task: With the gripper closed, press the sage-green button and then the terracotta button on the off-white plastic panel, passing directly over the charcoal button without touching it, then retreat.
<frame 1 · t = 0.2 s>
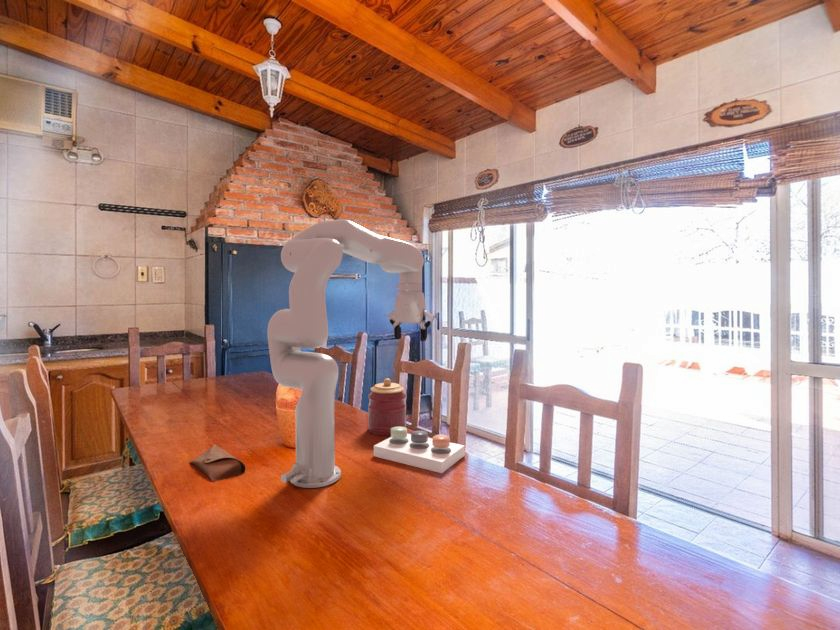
hand: (410, 339, 146), 31 cm above the table, fingers open, 9 cm apart
sunglasses case: (216, 469, 115), on the table
charcoal button: (419, 436, 124), point 6 cm above the table, slide at 0.0 cm
terracotta button: (441, 441, 120), point 6 cm above the table, slide at 0.0 cm
panel: (419, 455, 124), on the table
sage button: (398, 432, 127), point 6 cm above the table, slide at 0.0 cm
canister: (387, 430, 147), on the table
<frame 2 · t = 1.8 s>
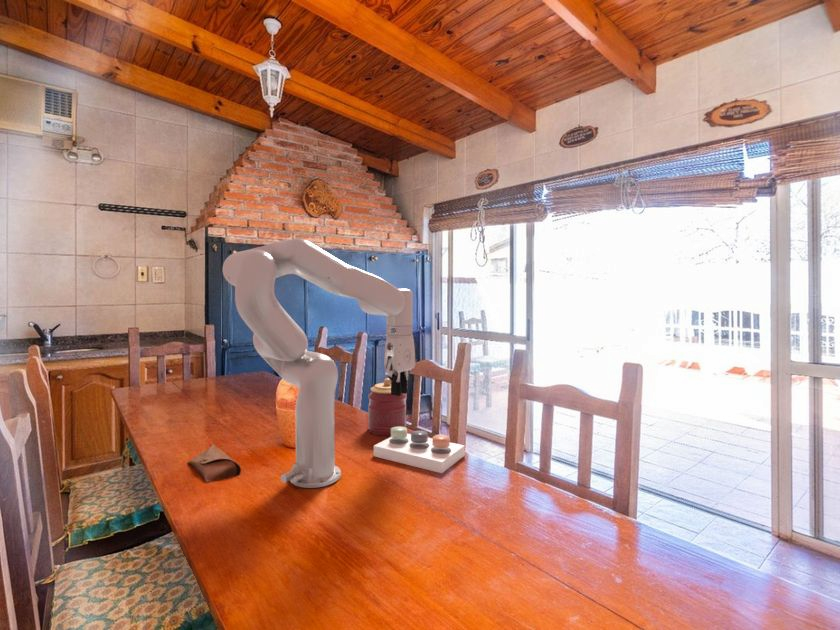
hand: (399, 393, 127), 17 cm above the table, fingers closed
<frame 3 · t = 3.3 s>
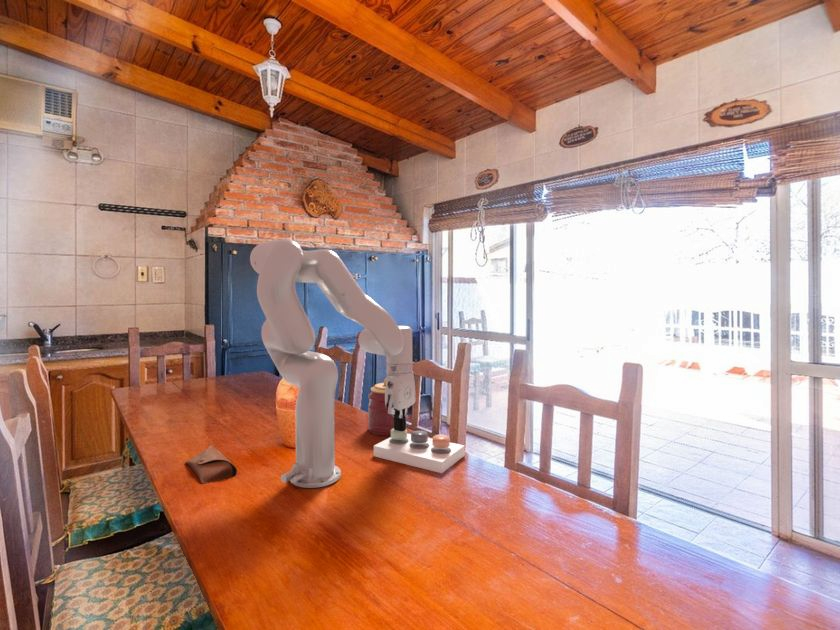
hand: (399, 429, 127), 6 cm above the table, fingers closed
sage button: (398, 433, 127), point 5 cm above the table, slide at 0.4 cm, touching gripper
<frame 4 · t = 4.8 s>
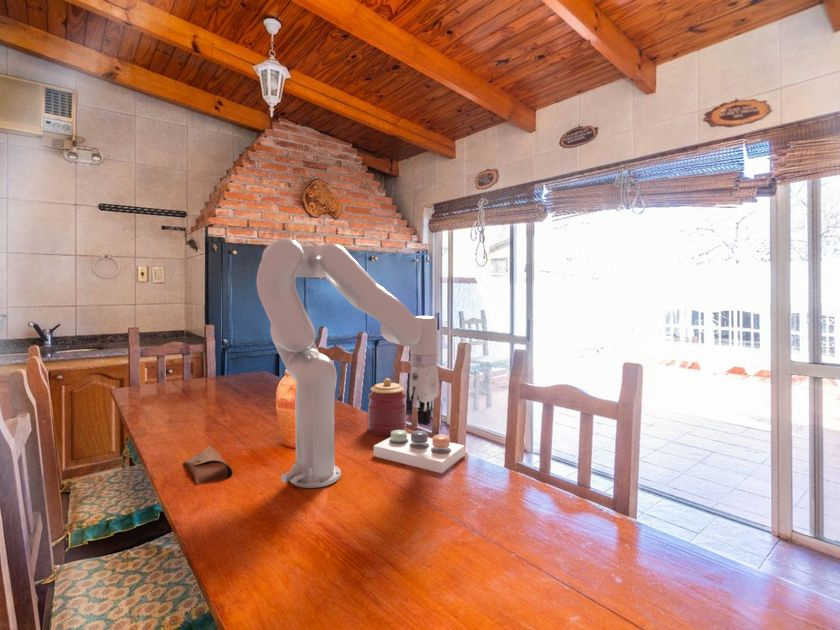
hand: (423, 423, 123), 9 cm above the table, fingers closed
sage button: (398, 435, 127), point 5 cm above the table, slide at 1.0 cm
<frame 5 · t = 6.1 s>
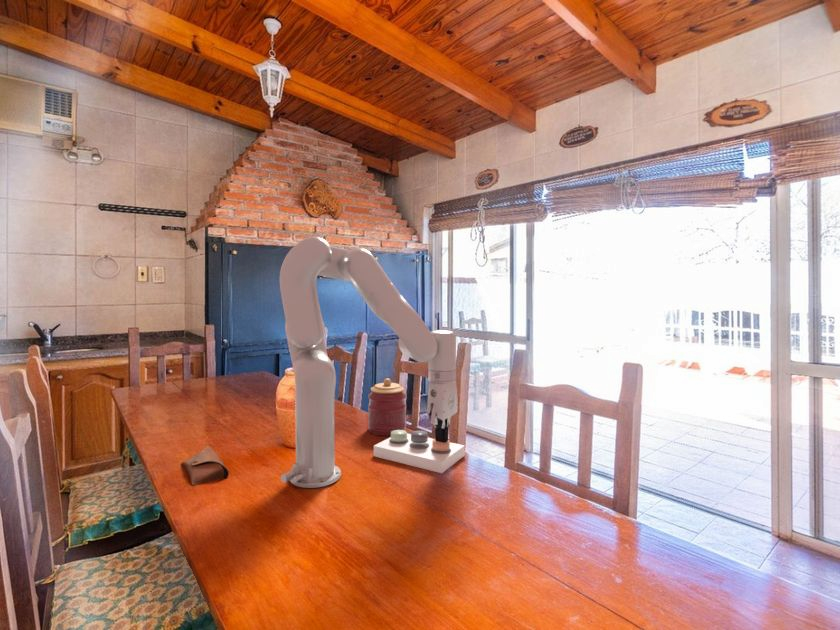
hand: (441, 440, 120), 6 cm above the table, fingers closed
terracotta button: (441, 444, 120), point 5 cm above the table, slide at 0.9 cm
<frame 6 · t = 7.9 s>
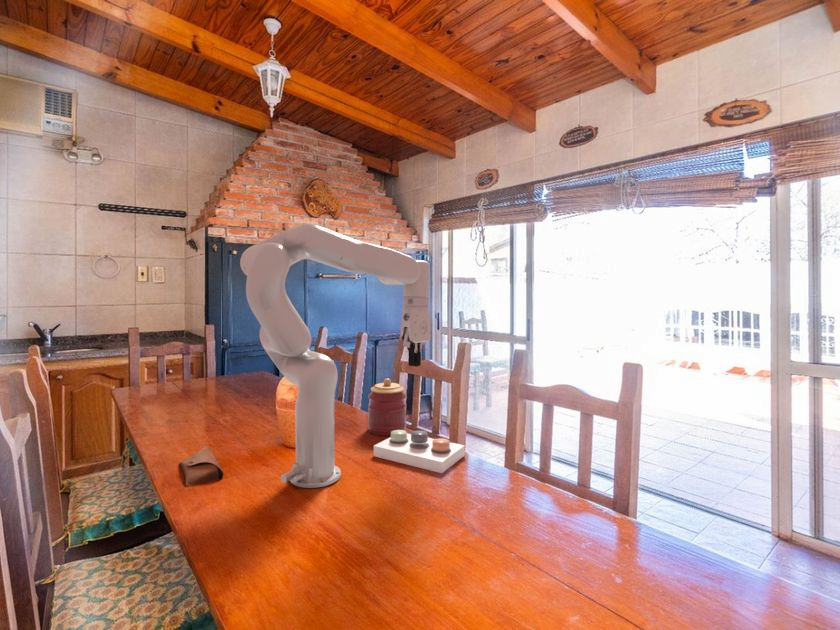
hand: (414, 365, 127), 25 cm above the table, fingers closed
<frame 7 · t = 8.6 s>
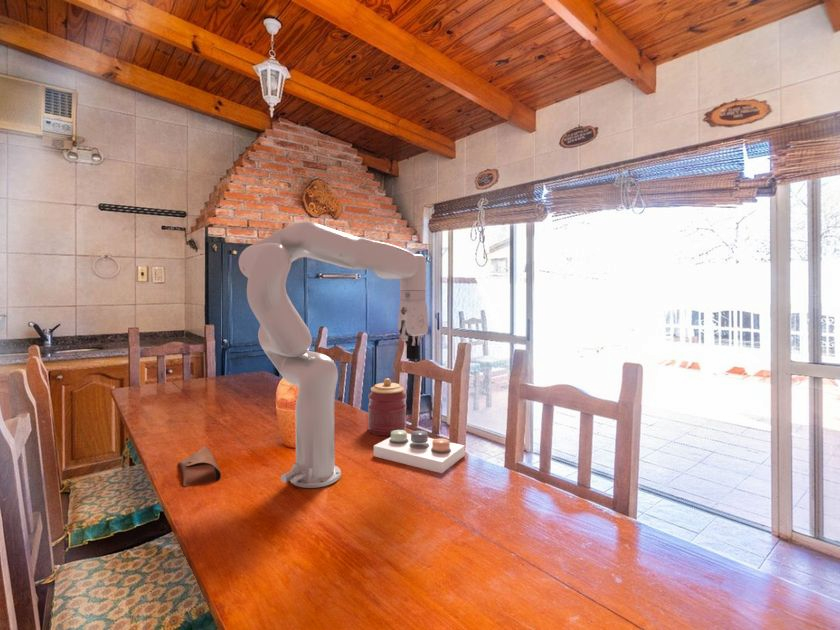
hand: (412, 358, 128), 27 cm above the table, fingers closed
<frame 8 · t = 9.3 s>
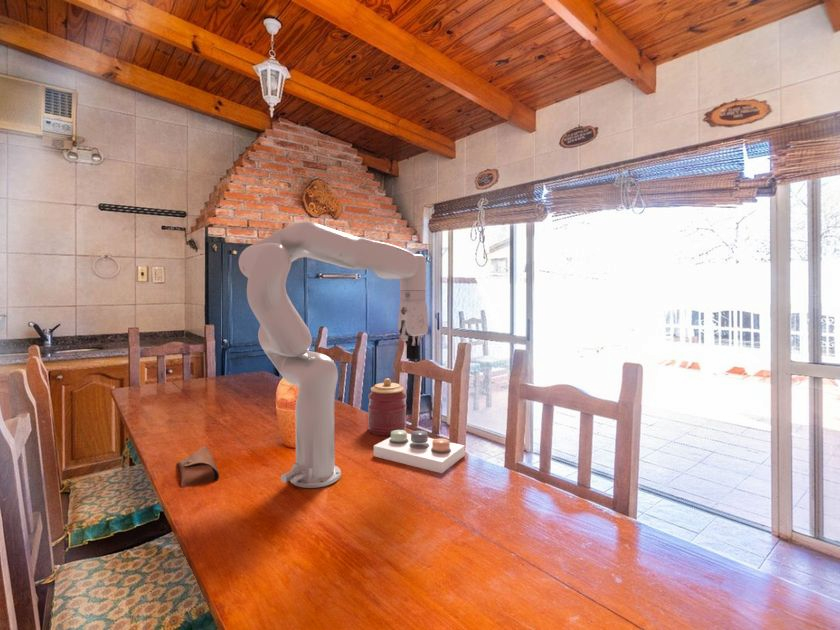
hand: (412, 358, 128), 27 cm above the table, fingers closed
at the end: sage button slide at 1.0 cm; terracotta button slide at 1.0 cm; charcoal button slide at 0.0 cm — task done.
